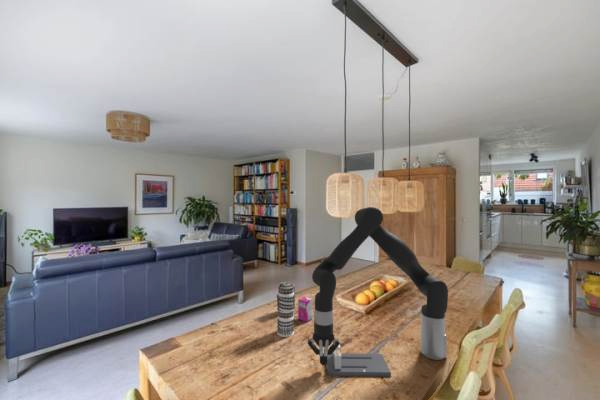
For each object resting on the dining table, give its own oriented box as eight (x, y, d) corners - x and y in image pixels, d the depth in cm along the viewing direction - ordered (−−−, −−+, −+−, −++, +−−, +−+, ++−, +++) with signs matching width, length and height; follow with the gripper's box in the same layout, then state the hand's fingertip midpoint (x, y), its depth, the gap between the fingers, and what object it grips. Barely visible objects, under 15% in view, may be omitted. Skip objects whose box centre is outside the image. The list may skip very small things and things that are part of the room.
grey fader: (339, 362, 106) (339, 349, 106) (341, 369, 102) (341, 355, 102) (333, 362, 106) (333, 349, 106) (334, 369, 102) (334, 355, 102)
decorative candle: (273, 335, 131) (273, 284, 131) (281, 327, 139) (281, 279, 139) (290, 339, 128) (290, 286, 128) (297, 330, 136) (297, 281, 136)
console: (381, 357, 113) (381, 353, 113) (391, 376, 101) (391, 372, 101) (325, 356, 113) (325, 353, 113) (327, 375, 101) (327, 371, 101)
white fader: (339, 354, 112) (339, 341, 112) (340, 359, 108) (340, 347, 108) (333, 354, 112) (333, 341, 112) (334, 359, 108) (334, 347, 108)
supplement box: (304, 316, 153) (304, 296, 153) (312, 319, 149) (312, 298, 149) (297, 319, 148) (297, 299, 148) (306, 322, 144) (306, 301, 144)
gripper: (339, 316, 108) (338, 358, 108) (306, 315, 108) (306, 358, 108) (342, 324, 101) (341, 370, 101) (306, 324, 101) (306, 370, 101)
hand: (323, 364), depth 104 cm, fingers closed
